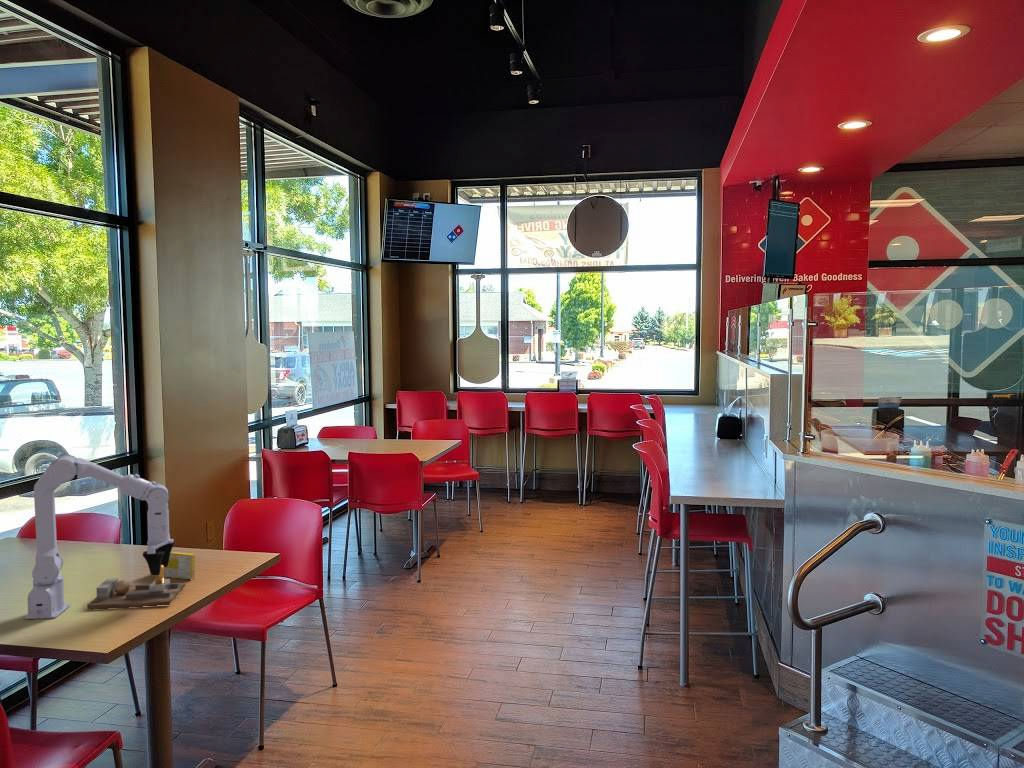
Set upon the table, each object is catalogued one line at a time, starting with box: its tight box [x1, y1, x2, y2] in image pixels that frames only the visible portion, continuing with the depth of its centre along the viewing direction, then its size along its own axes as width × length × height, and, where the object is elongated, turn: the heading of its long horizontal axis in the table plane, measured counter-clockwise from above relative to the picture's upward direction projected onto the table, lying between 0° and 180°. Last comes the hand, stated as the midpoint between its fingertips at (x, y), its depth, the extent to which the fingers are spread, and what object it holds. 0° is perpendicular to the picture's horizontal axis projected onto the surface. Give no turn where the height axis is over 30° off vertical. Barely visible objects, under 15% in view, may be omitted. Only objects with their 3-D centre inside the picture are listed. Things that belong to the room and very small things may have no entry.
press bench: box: [86, 577, 186, 611], centre depth 217 cm, size 16×22×5 cm
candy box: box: [149, 551, 196, 580], centre depth 236 cm, size 16×2×8 cm, turn 74°
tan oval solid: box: [114, 579, 131, 594], centre depth 216 cm, size 4×4×4 cm
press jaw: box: [149, 565, 171, 593], centre depth 217 cm, size 6×4×8 cm, turn 9°
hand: (159, 570), depth 217 cm, fingers open, 7 cm apart
